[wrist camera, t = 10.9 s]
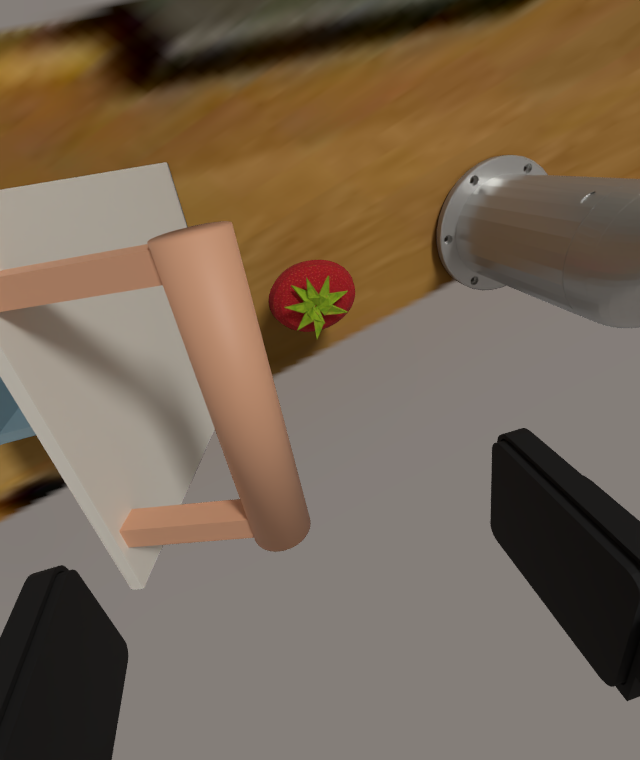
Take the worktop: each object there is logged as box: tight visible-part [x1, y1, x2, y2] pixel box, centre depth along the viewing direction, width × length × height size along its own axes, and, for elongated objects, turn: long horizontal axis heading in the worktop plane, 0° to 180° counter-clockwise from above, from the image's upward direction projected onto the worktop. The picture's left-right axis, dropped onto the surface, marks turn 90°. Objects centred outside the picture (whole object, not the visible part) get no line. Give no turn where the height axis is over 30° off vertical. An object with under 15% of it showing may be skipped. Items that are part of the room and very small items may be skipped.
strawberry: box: [269, 260, 355, 339], centre depth 37 cm, size 6×8×10 cm
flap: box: [0, 162, 310, 590], centre depth 22 cm, size 18×16×8 cm
